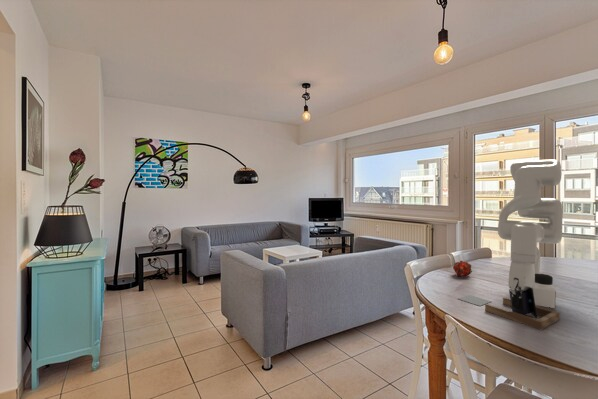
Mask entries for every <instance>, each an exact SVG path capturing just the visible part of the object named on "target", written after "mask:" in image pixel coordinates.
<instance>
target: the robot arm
mask: <svg viewBox="0 0 598 399" xmlns="http://www.w3.org/2000/svg"><path fill="white" fill-rule="evenodd" d="M509 170H510V175H511V177H512V179H513V181H514V192H513V198H512V199H511V200H510V201H508V202H507V203H506V204H505V205H504V206H503V208H502V209H500V213H499V216H498V225H497V233H498V237H500V239H502V240H505V241H510V261H511V262H510V266H509V271H508V282H507V284H508V285H507V286H508V288H509V289H510V288H511V289H510V290H511V293H512V307H514V308H517V309H520V310H522V309H523V299H522V295H523V291H525V290H528V289H529V287H531V288H532V289H533V287H534V284H535V274H537V273H541V250H540V249H539V247H537V245H538V243H540V244H552V245H554V244H555V245H557V244H559V243H560V242H561V241H562V237H563V204H562V202H561V200H559V199H557V198H553V197H552V198H551V197H542V194H541V193H542V186H545V187H547V186H548V187H549V186H551V187H553V186H554V187H555V186H557V185H559V184H560V182H561V181H562V174H563V173H562V165H561V162H560V161H559V160H558V159H539V160H537V159H536V160H535V159H533V160H520V161H515V162H513V163H512V164H511V165H510V167H509ZM515 212H517V214H518V217H521V218H523V219H534V220H536V219H537V220H547V221H548V222H547V221H537V220H536V221H534V220H520V221H517V220H508V218H509V217H510V215H511V214H513V213H515ZM517 288H521V289H517ZM517 291H520V294H519V293H518V292H517ZM512 307H511V308H512Z"/></svg>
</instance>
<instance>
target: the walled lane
mask: <svg viewBox="0 0 598 399" xmlns="http://www.w3.org/2000/svg"><path fill="white" fill-rule="evenodd" d="M502 304H503V305H505V306H509V307H511V308H512V306H511V300H510V297H507V296H506V297H502ZM535 307H536V313H537V316H541V315H542V317H540V318H535V317H531V316H528V315H526V314H519V313H516V312H512V310H508V309H506V308H503V307H499V306H496V305H494V304H493V305H492V304H490V303H487V304H485V305H484V308H485V309H484V311H485V312H487V313H491V314H493V315H496V316H500V317H502V318H504V319H505V318H506V319H508V320H510V321H514V322H517V323H519V324H520V323H521V324H523V325H526V326H528V327H532V328H535V329H539V330H541V329H542V330H544V329H545V328H547V327H548V325H549V326H551V325H553V324H554V323H556V322H557V320H558V319H561V318H560V312H558V311H556V310H552V309H548V308H546V307H543V306H537V305H535ZM555 321H556V322H555ZM558 321H559V320H558ZM553 322H554V323H553ZM550 324H551V325H550ZM546 326H547V327H546Z"/></svg>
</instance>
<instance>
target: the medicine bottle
mask: <svg viewBox="0 0 598 399" xmlns="http://www.w3.org/2000/svg"><path fill="white" fill-rule="evenodd" d="M553 281H554V279H553V277H552V276H551V275H550V274H546V273H541V272H540V273H537V274H535V284H534V287H533V294H534V300H535V306H538V307H542V308H549V307H550V309H556V297H557V294H556V292H557V291H556V289H555V288H554V286H553Z"/></svg>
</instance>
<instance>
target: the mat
mask: <svg viewBox="0 0 598 399" xmlns="http://www.w3.org/2000/svg"><path fill="white" fill-rule="evenodd" d="M457 300H460V301H463V302H466V303H468V304H472V305H475V306H478V307H482V306H485V304H490V303H492V300H488V299H486V298H482V297H479V296H475V295H472V294H468V295H464V296H461V297H458V298H457Z"/></svg>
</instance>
